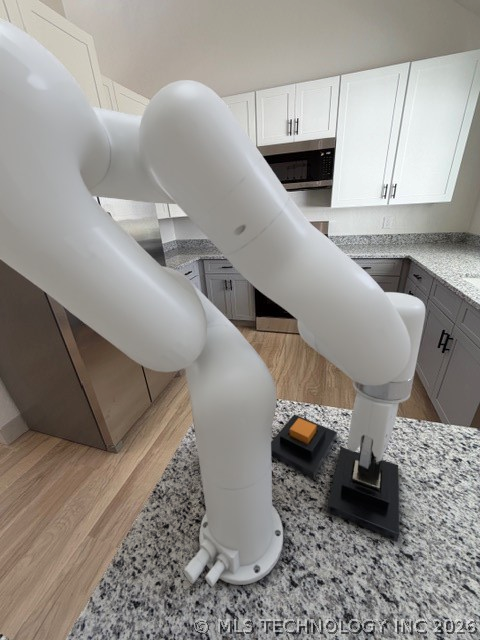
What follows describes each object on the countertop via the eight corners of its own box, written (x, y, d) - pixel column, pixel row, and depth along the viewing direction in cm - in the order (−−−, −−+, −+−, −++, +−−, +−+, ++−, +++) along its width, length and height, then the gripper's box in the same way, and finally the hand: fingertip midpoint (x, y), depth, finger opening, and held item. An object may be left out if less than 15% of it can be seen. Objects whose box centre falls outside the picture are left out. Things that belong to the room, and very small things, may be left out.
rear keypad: (313, 479, 50) (314, 464, 48) (266, 453, 56) (266, 440, 54) (336, 438, 58) (337, 425, 57) (294, 419, 64) (294, 407, 63)
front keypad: (397, 542, 40) (401, 526, 38) (326, 512, 44) (328, 496, 43) (397, 471, 50) (400, 457, 49) (340, 453, 55) (341, 439, 54)
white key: (378, 496, 44) (379, 487, 43) (351, 486, 46) (352, 478, 45) (379, 476, 47) (380, 468, 46) (354, 467, 49) (355, 459, 48)
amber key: (307, 444, 53) (308, 437, 53) (289, 436, 56) (289, 428, 55) (316, 432, 56) (316, 425, 56) (298, 424, 59) (298, 417, 58)
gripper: (367, 351, 47) (358, 435, 53) (337, 397, 36) (330, 495, 43) (419, 363, 43) (402, 452, 49) (401, 418, 32) (382, 524, 38)
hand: (368, 472), depth 46 cm, fingers closed
